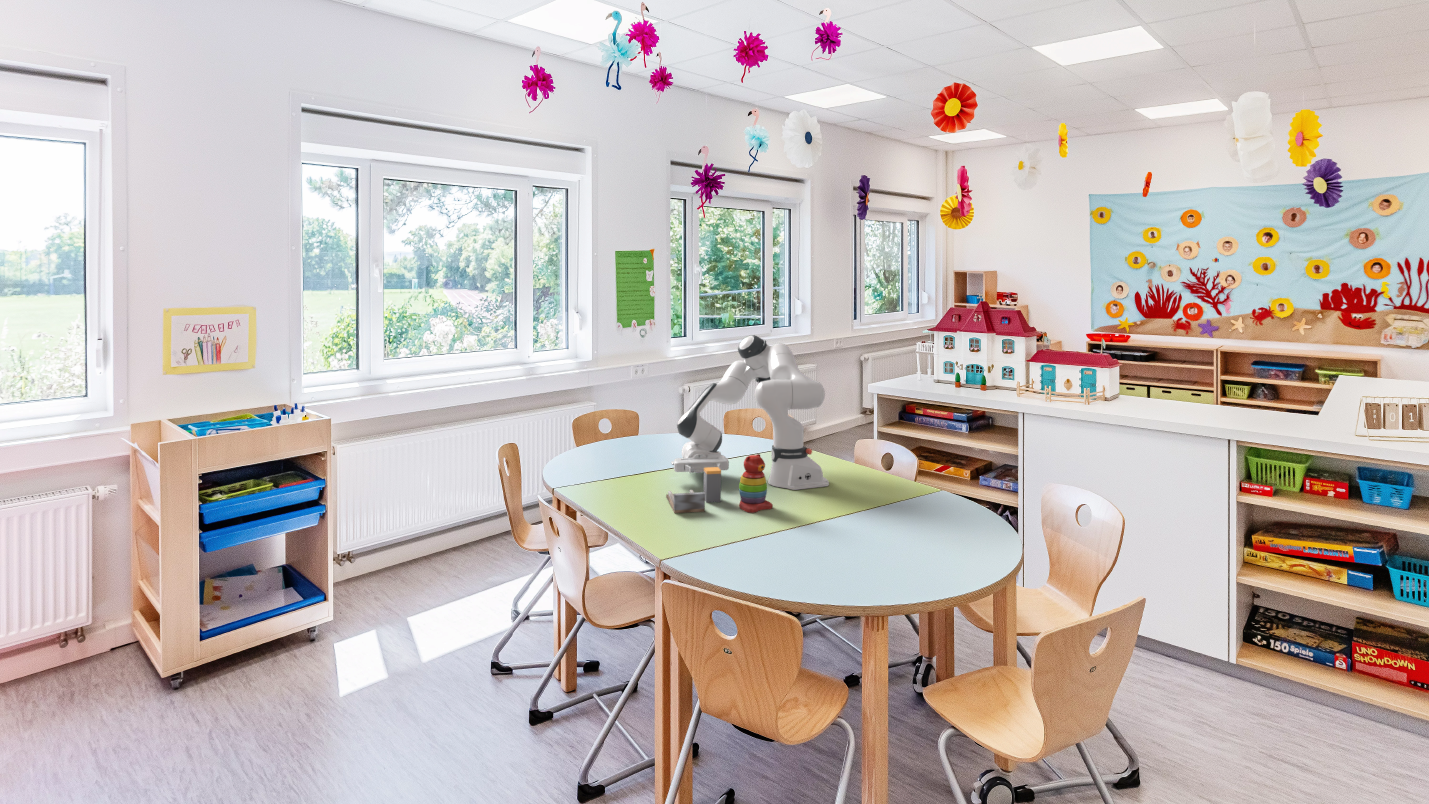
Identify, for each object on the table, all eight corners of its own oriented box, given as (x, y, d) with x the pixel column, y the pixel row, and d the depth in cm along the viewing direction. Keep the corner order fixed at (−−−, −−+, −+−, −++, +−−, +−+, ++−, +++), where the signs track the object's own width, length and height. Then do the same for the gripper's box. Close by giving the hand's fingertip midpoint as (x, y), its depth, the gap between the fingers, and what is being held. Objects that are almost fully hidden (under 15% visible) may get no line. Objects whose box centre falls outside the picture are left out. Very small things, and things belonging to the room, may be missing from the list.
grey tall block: (717, 497, 266) (718, 467, 264) (720, 501, 261) (721, 470, 259) (703, 498, 265) (703, 467, 263) (706, 502, 260) (706, 471, 258)
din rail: (694, 495, 268) (694, 479, 267) (704, 511, 250) (704, 493, 249) (666, 497, 266) (666, 480, 265) (674, 513, 248) (674, 495, 247)
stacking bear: (750, 513, 249) (751, 460, 246) (731, 506, 257) (732, 454, 254) (775, 508, 255) (776, 456, 252) (756, 500, 263) (757, 450, 260)
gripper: (670, 453, 285) (676, 462, 271) (724, 451, 289) (732, 460, 275) (670, 469, 286) (676, 479, 272) (723, 467, 290) (732, 477, 276)
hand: (704, 470), depth 274 cm, fingers open, 8 cm apart
